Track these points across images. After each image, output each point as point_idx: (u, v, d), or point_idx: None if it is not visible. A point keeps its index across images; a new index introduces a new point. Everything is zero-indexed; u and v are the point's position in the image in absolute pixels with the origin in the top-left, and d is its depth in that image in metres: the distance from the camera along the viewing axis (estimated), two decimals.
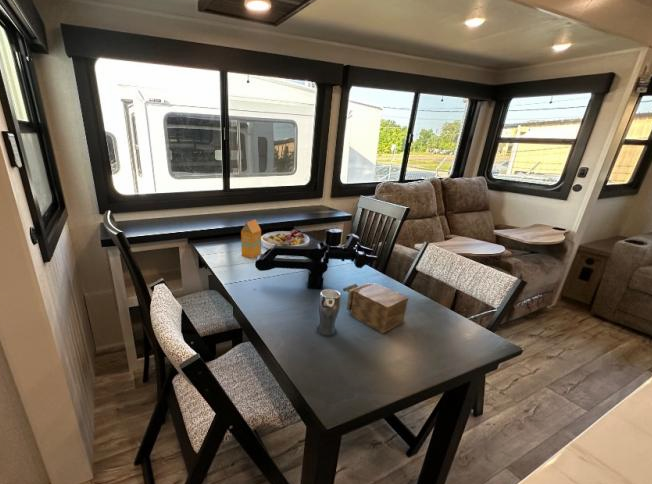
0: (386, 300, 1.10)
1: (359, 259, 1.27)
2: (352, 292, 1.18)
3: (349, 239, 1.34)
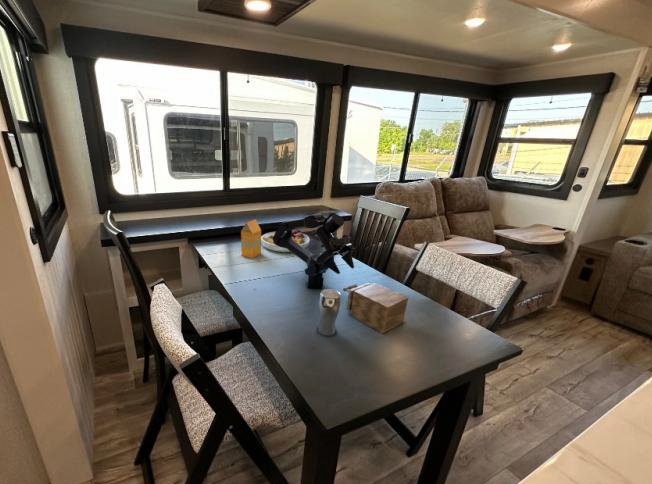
0: (386, 300, 1.10)
1: (321, 256, 1.22)
2: (352, 292, 1.18)
3: None
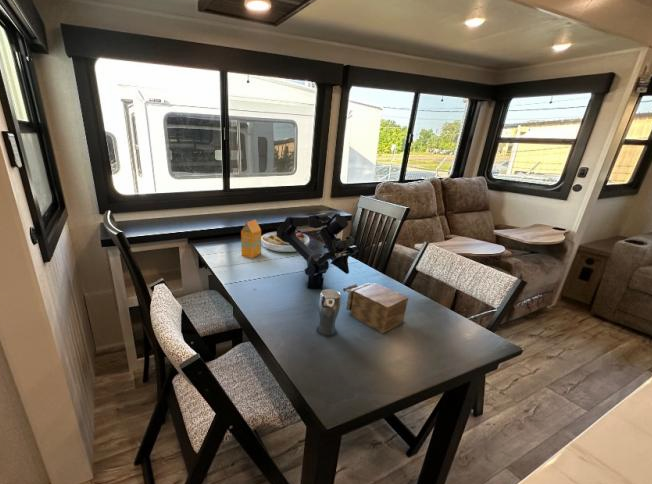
0: (386, 300, 1.10)
1: (322, 258, 1.21)
2: (352, 292, 1.18)
3: None
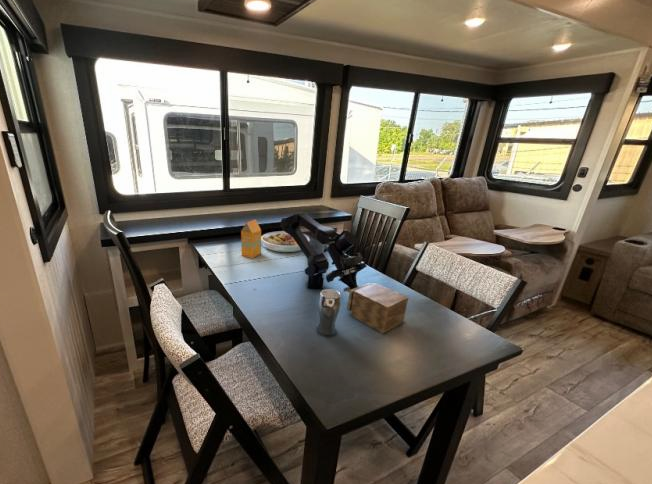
0: (386, 300, 1.10)
1: (331, 275, 1.19)
2: (353, 292, 1.18)
3: (352, 257, 1.21)
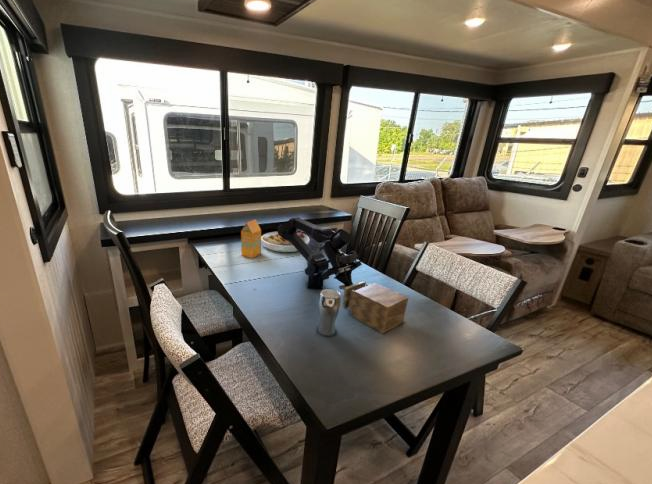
0: (386, 300, 1.10)
1: (326, 273, 1.21)
2: (348, 290, 1.20)
3: (347, 255, 1.23)
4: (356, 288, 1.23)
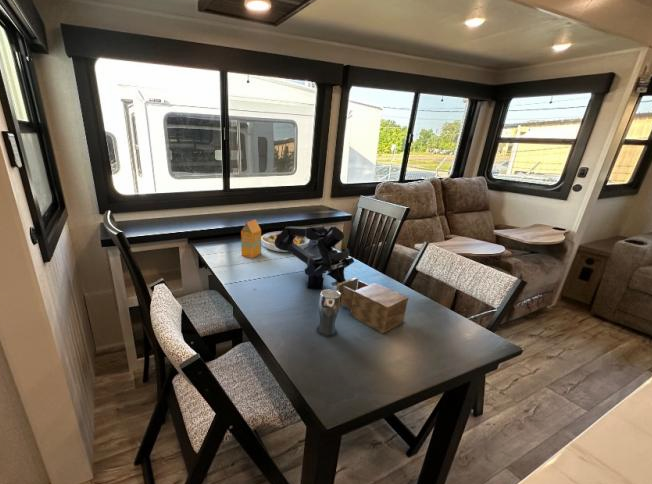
0: (386, 300, 1.10)
1: (319, 270, 1.24)
2: (340, 286, 1.23)
3: (340, 252, 1.26)
4: (348, 284, 1.26)
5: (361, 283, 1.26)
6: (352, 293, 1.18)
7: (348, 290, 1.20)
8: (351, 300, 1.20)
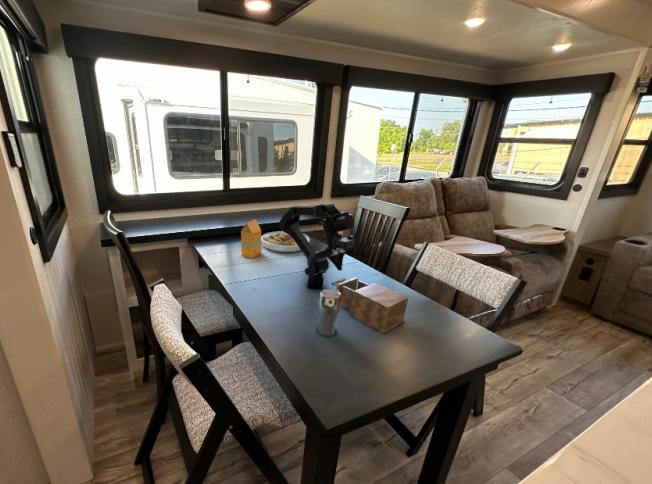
0: (386, 300, 1.10)
1: (320, 254, 1.22)
2: (340, 286, 1.23)
3: (345, 239, 1.23)
4: (348, 284, 1.26)
5: (361, 283, 1.26)
6: (352, 293, 1.19)
7: (348, 290, 1.20)
8: (351, 300, 1.20)
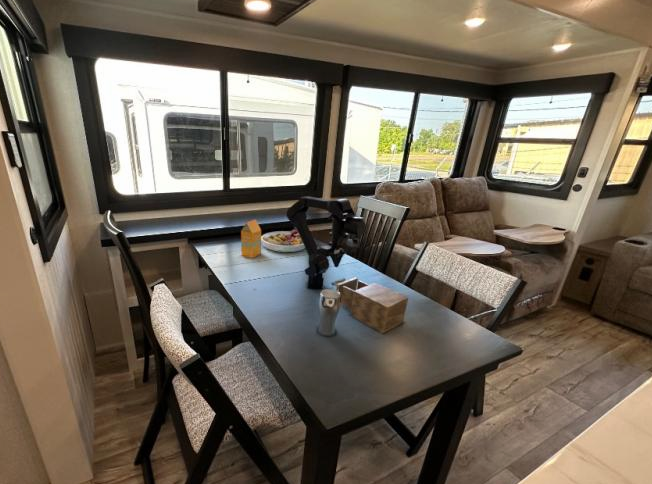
0: (386, 300, 1.10)
1: (323, 252, 1.22)
2: (340, 286, 1.23)
3: (351, 243, 1.22)
4: (348, 284, 1.26)
5: (361, 283, 1.26)
6: (352, 293, 1.19)
7: (348, 290, 1.20)
8: (351, 300, 1.20)
